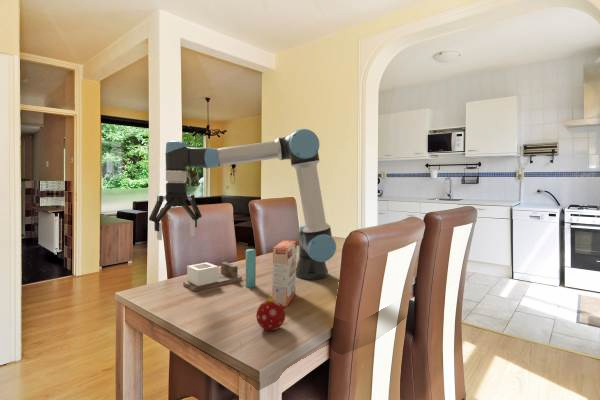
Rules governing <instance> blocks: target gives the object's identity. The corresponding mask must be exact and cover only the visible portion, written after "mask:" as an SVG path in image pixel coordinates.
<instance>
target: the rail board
mask: <svg viewBox="0 0 600 400" xmlns="http://www.w3.org/2000/svg"><path fill="white" fill-rule="evenodd" d="M238 269H239V267H238V266H237V265H235V264H232V263H230V262H227V261H224V262H223V261H222V262H220V273H218V282H214V283H210V284H206V285H201V286H196V285H194V284H192V283H190V282H188V281H187V280H186V281H183V284H182V285H183V286H184V287H185V288H187V289H189V290H191V291H192V292H194V293H196V292H201V291H204V290H207V289H212V288H215V286H216V287H220V286H223V284H224V285H227V284H232V283H236V282H239V281H242V280H243V276H241V275H239V274H238V273H239V272H238ZM219 285H220V286H219ZM211 287H212V288H211Z"/></svg>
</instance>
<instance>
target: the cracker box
mask: <svg viewBox="0 0 600 400" xmlns="http://www.w3.org/2000/svg"><path fill="white" fill-rule="evenodd" d="M296 267H297V241H296V240H282V241H281V242H279V243H277V244H276V245H274V246H273V247H272V286H271V287H272V289H271V290H272V291H271V292H272V293H271V296H272V297H273V300H275V301H277V302H279V303H280V304H281V305H282V306H283V307H284V308H286V307H287V308H288V305H289V304H290V303H291V302H292V300H293V298H294V297H295V295H296V279H297V276H296Z"/></svg>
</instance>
